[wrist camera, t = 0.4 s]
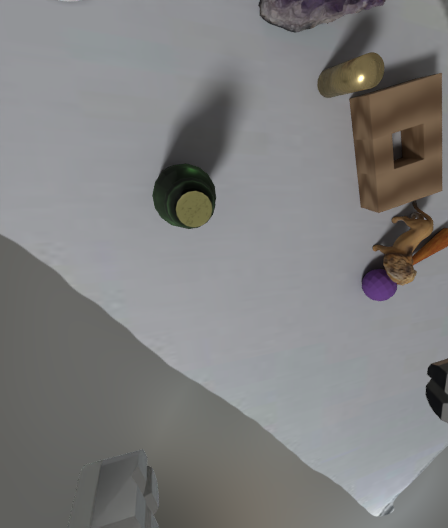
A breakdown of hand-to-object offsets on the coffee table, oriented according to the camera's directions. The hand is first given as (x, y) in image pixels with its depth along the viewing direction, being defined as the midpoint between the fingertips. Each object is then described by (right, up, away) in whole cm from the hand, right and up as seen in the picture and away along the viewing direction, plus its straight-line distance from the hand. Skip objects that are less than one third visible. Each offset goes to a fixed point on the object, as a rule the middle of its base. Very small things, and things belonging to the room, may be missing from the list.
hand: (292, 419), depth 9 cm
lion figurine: (+30, +9, +54) cm, 63 cm away
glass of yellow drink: (+14, +32, +42) cm, 55 cm away
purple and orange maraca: (+33, +5, +57) cm, 66 cm away
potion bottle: (-9, +16, +42) cm, 46 cm away
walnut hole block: (+26, +24, +47) cm, 59 cm away
